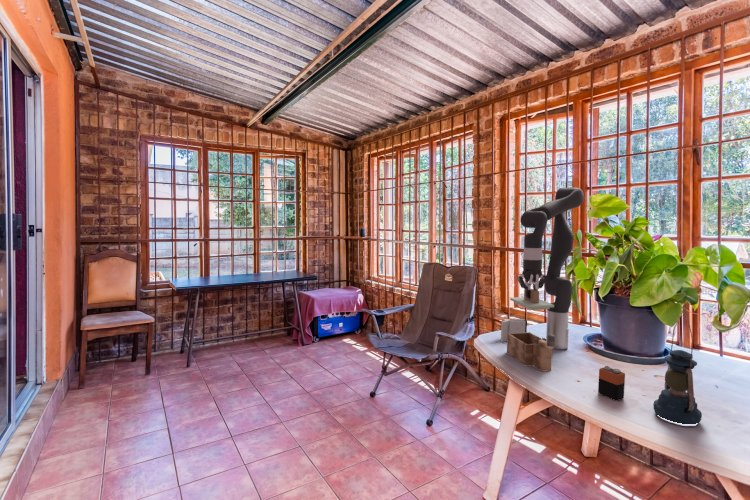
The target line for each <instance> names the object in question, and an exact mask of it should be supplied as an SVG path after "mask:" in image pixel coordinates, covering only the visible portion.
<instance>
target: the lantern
mask: <svg viewBox="0 0 750 500" xmlns="http://www.w3.org/2000/svg"><path fill="white" fill-rule="evenodd" d="M684 312H685V316H686V320H687V324H688V328H689V333H690V337H691V352H690V353H689V352H688V351H686V350H683V349H674V350H673V347H674V346H673V345H674V336H675V329H676V327H677V325H678V323H679V320H680V319H681V317H682V314H683V313H684ZM688 317H689V316H688V314H687V308H686V307H683V309H682V311H681V313H680V315H679V317H678V319H677V321H676V323H675V325H674V328H673V330H672V338H671V347H670V351H669V355H666V356H664V361H666V364H667V370H666V371H665V375H664V389H662V390H661V392H660V394H659V395H658V399H655V400H654V401H653V410H654V413H655V415H656V414H657V415H659V416H660V417H662V418H665V419H667V420H670V421H673V422H677V423H682V424H696V423H699V422H701V421H702V416H703V415H702V414H703V413H702V411H701V410H700V409H698V403H697V402H696V398H695V393H694V391H695V390H694V375H693V369H695V367H696V366H698V362H697V360H694V359H693V356H694V355H693V349H694V347H693V344H694V339H693V333H692V328H691V325H690V321H689V318H688ZM657 415H656V416H657ZM699 424H700V423H699Z"/></svg>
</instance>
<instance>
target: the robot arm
mask: <svg viewBox="0 0 750 500" xmlns="http://www.w3.org/2000/svg"><path fill="white" fill-rule="evenodd" d="M554 197H555V198H554V200H550V201H548V202H545V203H543V204H542V205H540V206H539V207H535V208H531V209H528V210H525V211H524V212H523V213H522V215H521V216H520V220H519V221H520V224H521V226H523V227H524V228H527V229H533V232H530V233H527V234H525V235H524V240H523V241H524V243H523V244H524V245H523V253H522V254H523V257H522V269H523V271H522V272H521V274H519V275H516V280H517V281H518V284H519V285H520V287H521V289H523V290H524V289H525V290H526V293H525V296H526V297H527V298H528V299H530V296H531V290H530V289H533V290H536V291H539V290H540V289H543V287H544V291H545V292H546V293H547V294H548V295H550V296H553V297H555V299H554V301H553V302H549V303H550V304H553V305H554V307H550V309H546V310H547V311H546V316H547V317H546V333H545V334H546V335H545V337H546V338H545V339H546V341H547V335H548V334H551V335H555V346H554V349H555V350H568V348H569V330H570V329H569V313H570V307H571V304H572V296H573V285H572V284H573V283H572V282H571V280H570V279H568V278H565V277H561V271H562V267H563V265H564V263H565V262H566V261H567V259H568V258H569V256H570V255H571V254H572V251H573V246H574V241H575V239H574V233H573V231H572V229H571V226H570V224H569V223H568V221H567V218H566V217H567V216H566V211H567V212H568V211H569V210H572V209H576V208H579V207H580V206H581V205H582V204H583V203H584V198H585V195H584V191H583V190H582V189H581V188H579V187H560V188H558V189H557V190H556V192H555V196H554ZM553 218H554V220H553V229H552V230H553V231H552V235H551V243H550V254H549V261H548V267H547V270H546V271H547V272H546V274H544V273H543V272H542V268H543V248H542V247H543V237H544V233H545V231H546V228H547V224H548V221H549V220H552V219H553ZM531 287H532V288H531Z"/></svg>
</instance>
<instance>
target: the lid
mask: <svg viewBox="0 0 750 500" xmlns="http://www.w3.org/2000/svg"><path fill="white" fill-rule="evenodd" d="M530 290H531V296H530V299H528V298H527V297H526V296H525V293H526V290H525V289H524V288H523V292H524V294H523V297H522V296H521V297H510V298H509V300H510V301H512V302H513V303H514V304H516V305H518V306H521V307H523V308H525V309H527V310H528V311H529V310H530V311H536V310H538V311H539V310H540V311H541V310H547V309H550V307H554V305H553V304H550V303H551V302H548V301H544V300H542V299H540V291H539V290H538V291H536V290H533V288H531V289H530Z"/></svg>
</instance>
